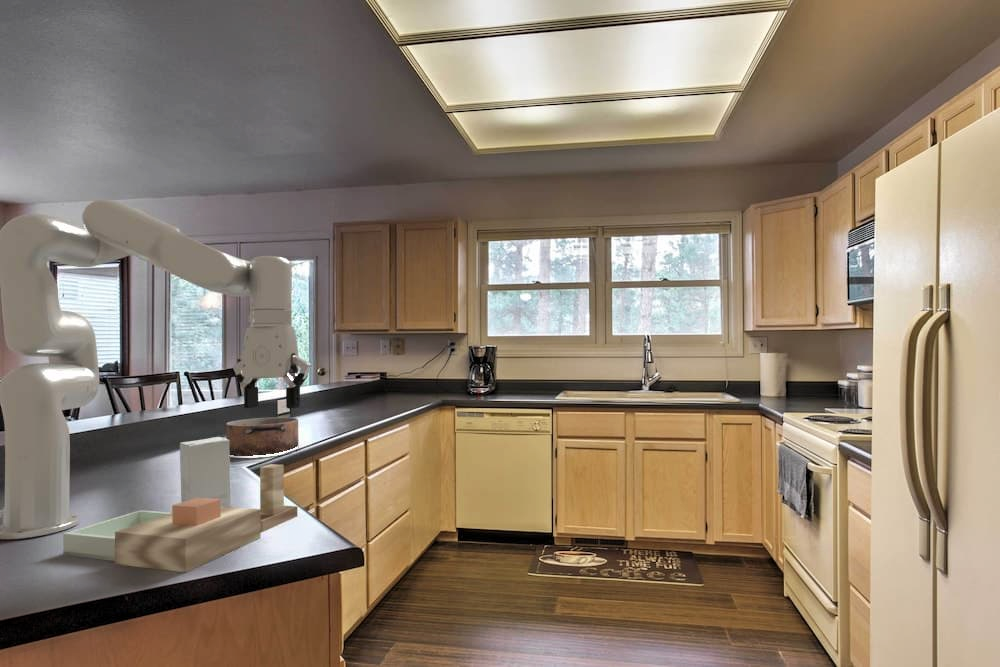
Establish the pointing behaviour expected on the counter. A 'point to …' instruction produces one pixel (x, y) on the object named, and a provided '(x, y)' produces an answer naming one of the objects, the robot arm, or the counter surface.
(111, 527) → the box
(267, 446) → the cooking pot
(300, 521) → the counter surface
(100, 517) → the counter surface
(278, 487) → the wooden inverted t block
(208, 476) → the skincare box
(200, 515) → the salmon pink brick
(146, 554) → the birch block
